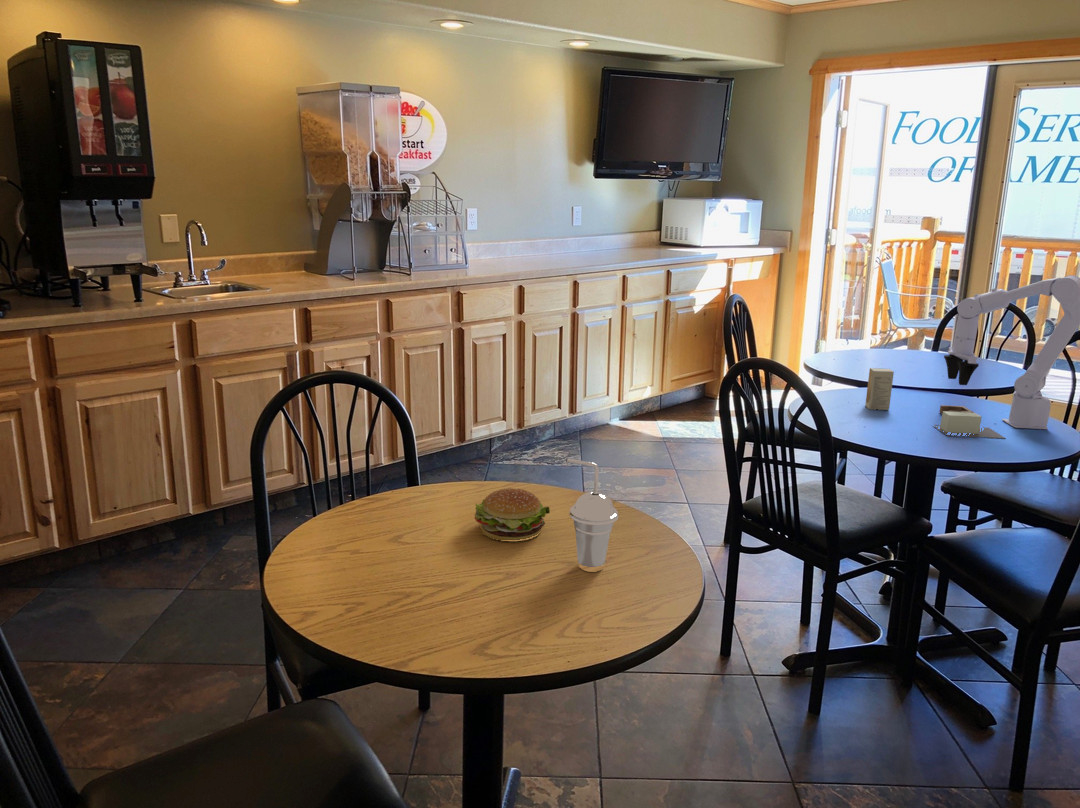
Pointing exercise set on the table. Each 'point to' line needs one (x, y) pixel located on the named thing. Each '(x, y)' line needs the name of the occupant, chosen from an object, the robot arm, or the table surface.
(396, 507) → the table surface
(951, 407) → the frame
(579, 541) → the cup with straw
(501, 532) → the food
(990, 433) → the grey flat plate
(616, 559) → the table surface
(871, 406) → the skincare box
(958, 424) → the block
